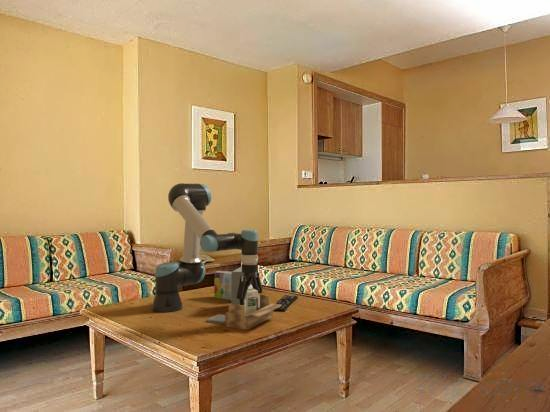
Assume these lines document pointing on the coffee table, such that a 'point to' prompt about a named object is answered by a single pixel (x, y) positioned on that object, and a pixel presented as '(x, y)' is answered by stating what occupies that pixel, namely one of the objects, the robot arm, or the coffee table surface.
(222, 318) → the plate
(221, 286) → the snack box
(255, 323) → the light wood open box
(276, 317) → the coffee table surface
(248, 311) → the syrup box
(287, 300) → the remote control
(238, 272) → the hard drive box
